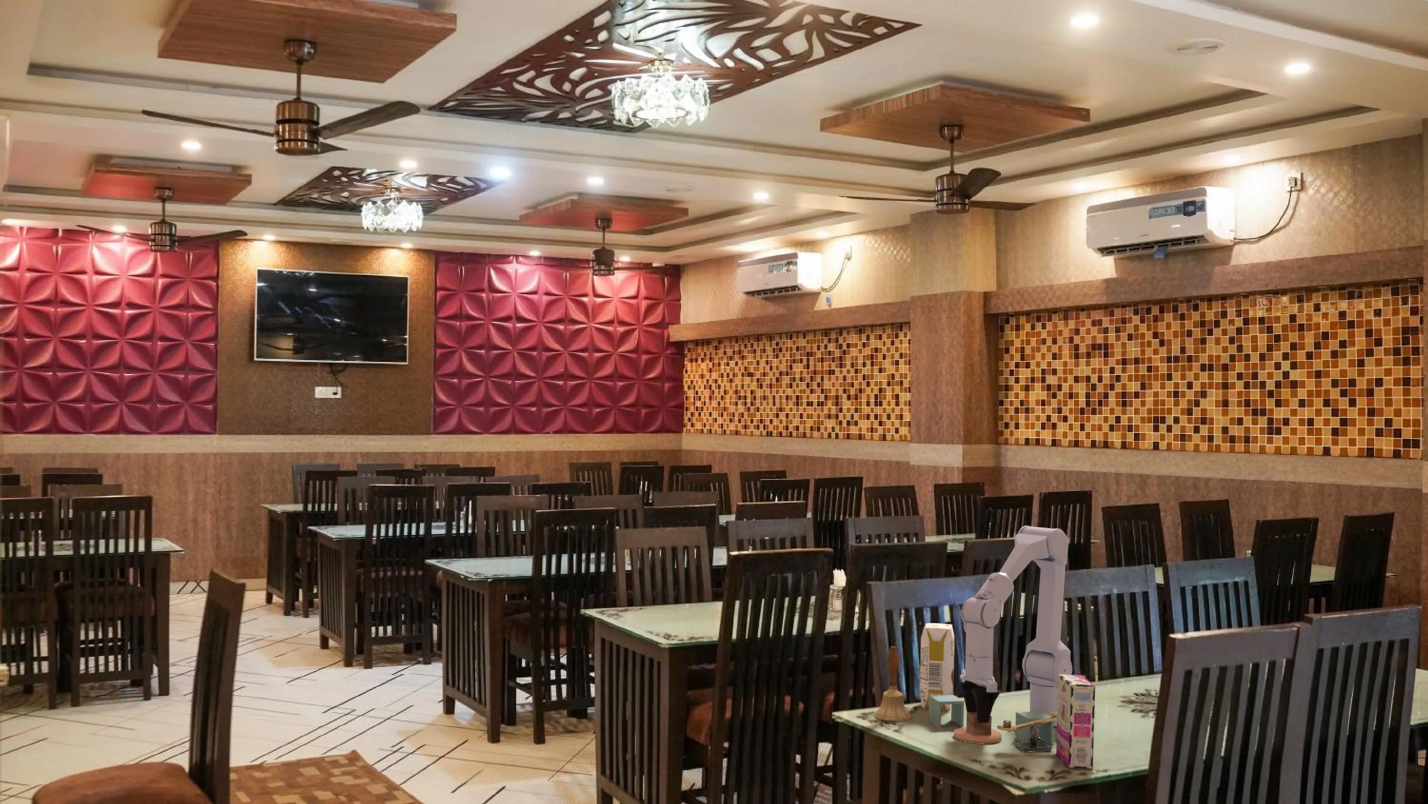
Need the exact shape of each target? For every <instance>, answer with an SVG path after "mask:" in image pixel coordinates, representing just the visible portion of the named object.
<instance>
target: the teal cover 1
mask: <svg viewBox="0 0 1428 804" xmlns="http://www.w3.org/2000/svg"><path fill="white" fill-rule="evenodd" d="M941 704H950V709H951V710H950V711H951V712H950V720H951V722H953V721H954V722H953V723H955V724H957V725H958V724H959V725H958V726H960V725H961V726H965V725H964V724H965V723H964V719H965V701H964V699H961V698H959V697H958V696H957V695H954V694H953V695H933V696H929V709H928V721H929V722H930V723H932V724H933V725H935V726H936V725H937V726H936V727H938V728H941V727H942V710H941ZM961 726H960V727H961Z"/></svg>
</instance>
